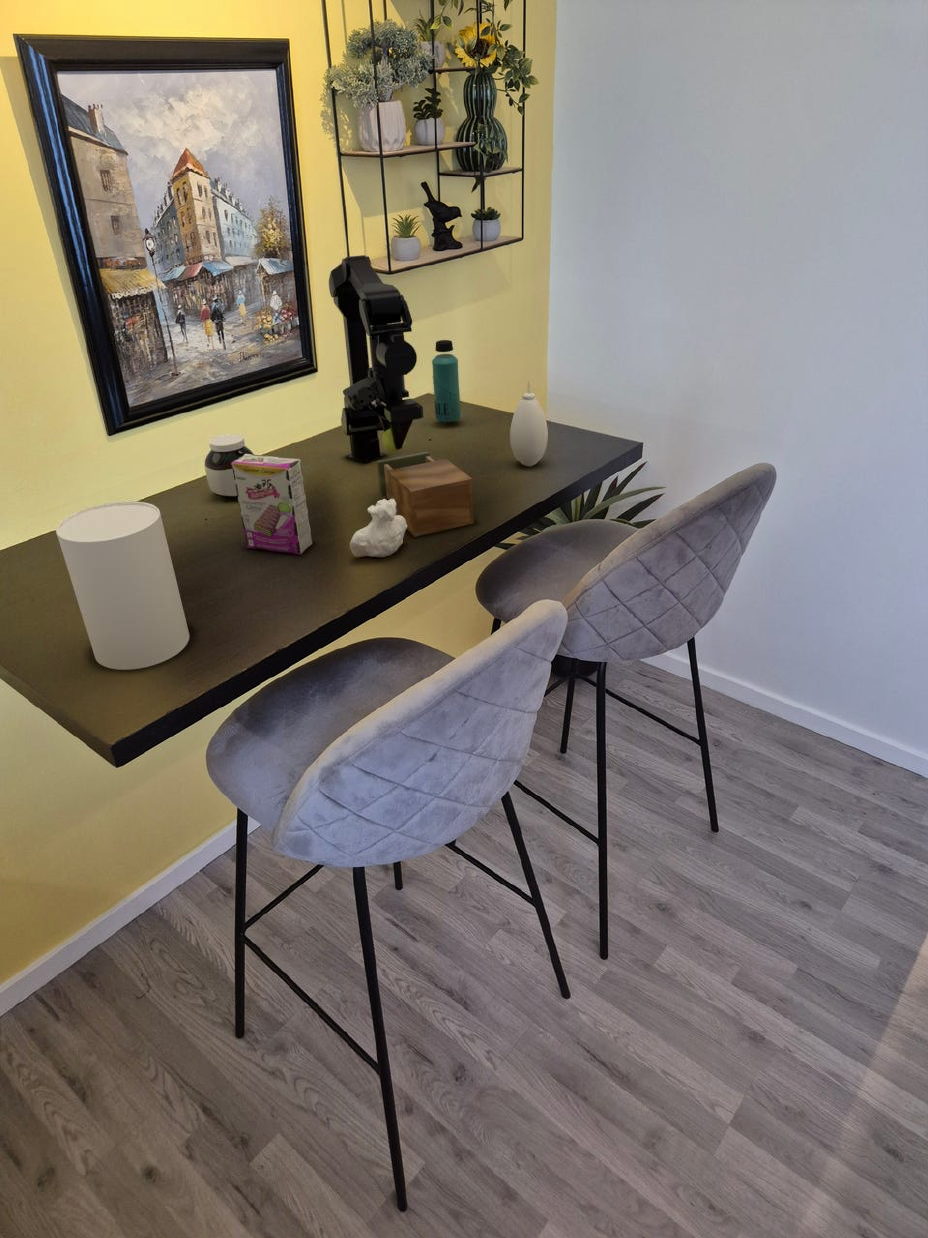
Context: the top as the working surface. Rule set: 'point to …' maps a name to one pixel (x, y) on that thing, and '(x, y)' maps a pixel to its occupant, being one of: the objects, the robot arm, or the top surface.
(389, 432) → the ball
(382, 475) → the drawer
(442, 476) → the cabinet
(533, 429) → the white air blower bulb
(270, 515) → the candy bar box
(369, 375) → the robot arm
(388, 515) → the white lumpy figure
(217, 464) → the spread jar
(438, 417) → the beverage bottle
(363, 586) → the top surface
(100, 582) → the canister
